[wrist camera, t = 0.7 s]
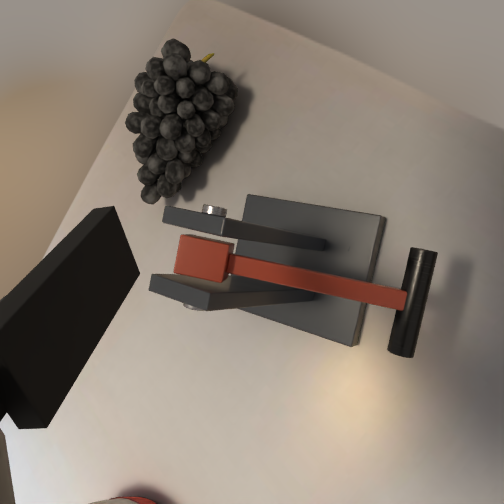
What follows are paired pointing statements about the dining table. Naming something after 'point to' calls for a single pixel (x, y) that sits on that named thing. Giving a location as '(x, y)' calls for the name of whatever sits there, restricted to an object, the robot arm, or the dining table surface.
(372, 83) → the dining table surface
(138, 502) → the citrus juicer
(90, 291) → the robot arm
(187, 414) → the dining table surface
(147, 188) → the fruit
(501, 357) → the dining table surface
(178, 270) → the lever
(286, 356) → the dining table surface
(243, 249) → the bracket
